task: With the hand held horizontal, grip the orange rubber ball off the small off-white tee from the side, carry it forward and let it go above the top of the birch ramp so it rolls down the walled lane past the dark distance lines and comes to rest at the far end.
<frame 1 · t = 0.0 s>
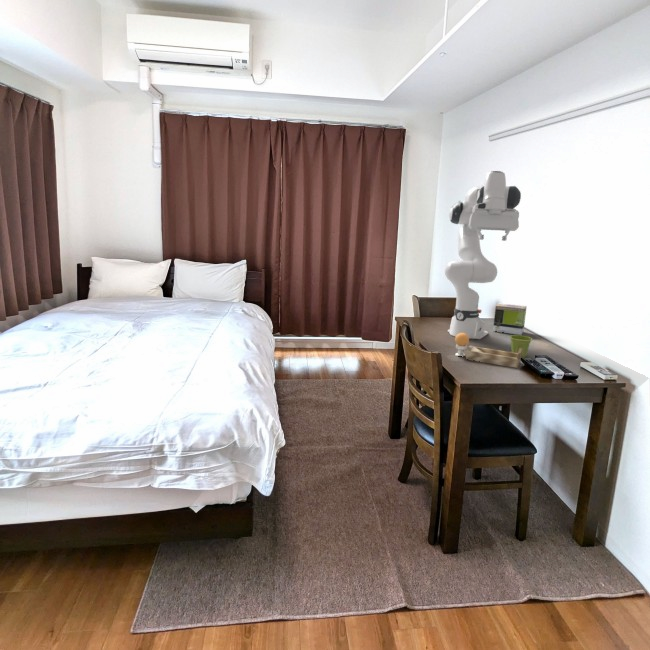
hand: (492, 239, 204), 52 cm above the table, tool tilted 20°, fingers open, 8 cm apart
white retro computer: (507, 332, 264), on the table
lane: (478, 358, 214), on the table
tee: (460, 355, 217), on the table
plant pot: (518, 356, 220), on the table
ball: (461, 345, 216), point 5 cm above the table, touching tee
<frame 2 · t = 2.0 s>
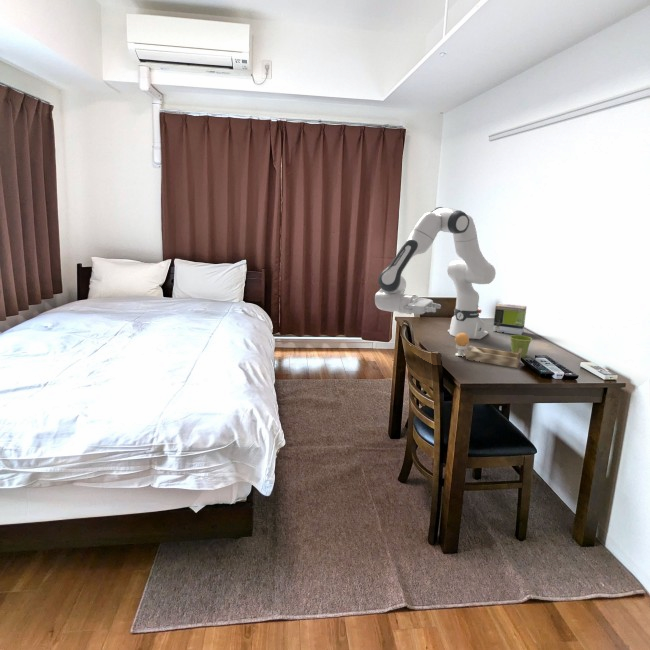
hand: (438, 308, 217), 20 cm above the table, tool horizontal, fingers open, 8 cm apart
nothing on the table moved.
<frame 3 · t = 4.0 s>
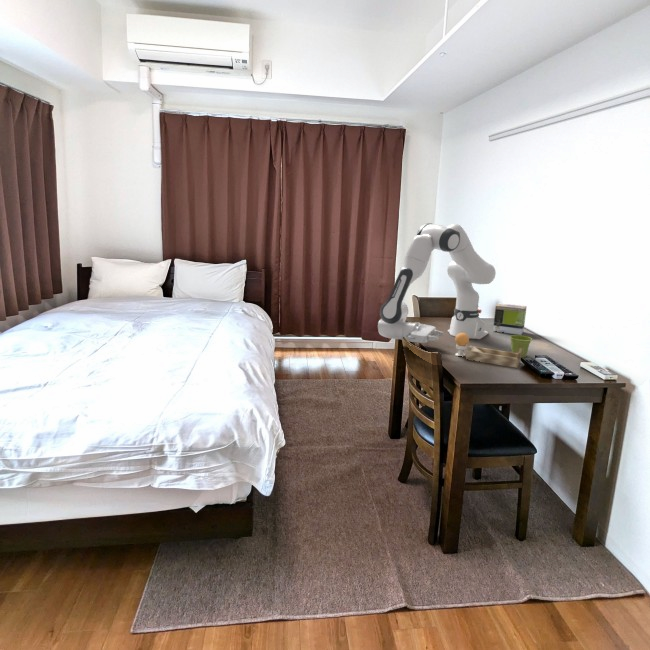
hand: (441, 336, 219), 7 cm above the table, tool horizontal, fingers open, 8 cm apart
nothing on the table moved.
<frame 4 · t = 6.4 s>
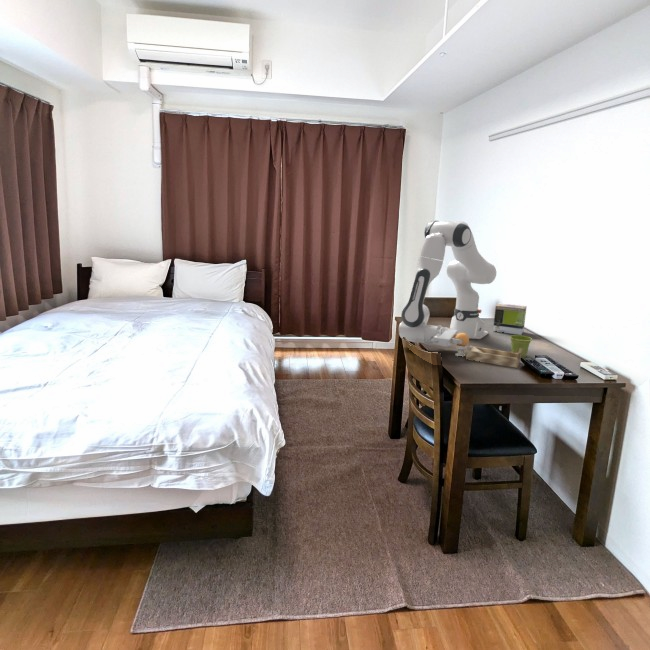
hand: (464, 339, 215), 8 cm above the table, tool horizontal, fingers closed on ball, 6 cm apart
ball: (461, 345, 216), point 5 cm above the table, touching gripper, tee
everything else where it was.
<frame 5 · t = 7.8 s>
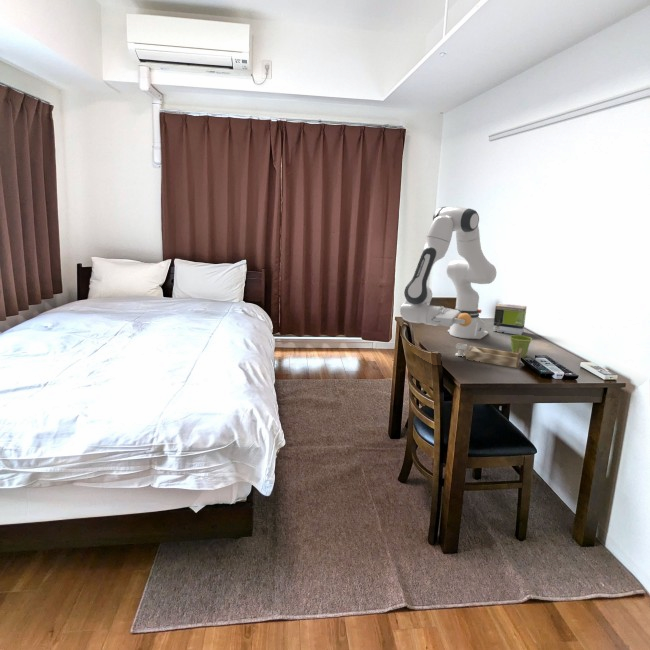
hand: (466, 320, 213), 17 cm above the table, tool horizontal, fingers closed on ball, 6 cm apart
ball: (463, 326, 214), point 14 cm above the table, touching gripper
everything else where it was.
when the fingers open (10 cm above the table, at t = 9.5 s): ball drops 5 cm and tips over, resting on lane.
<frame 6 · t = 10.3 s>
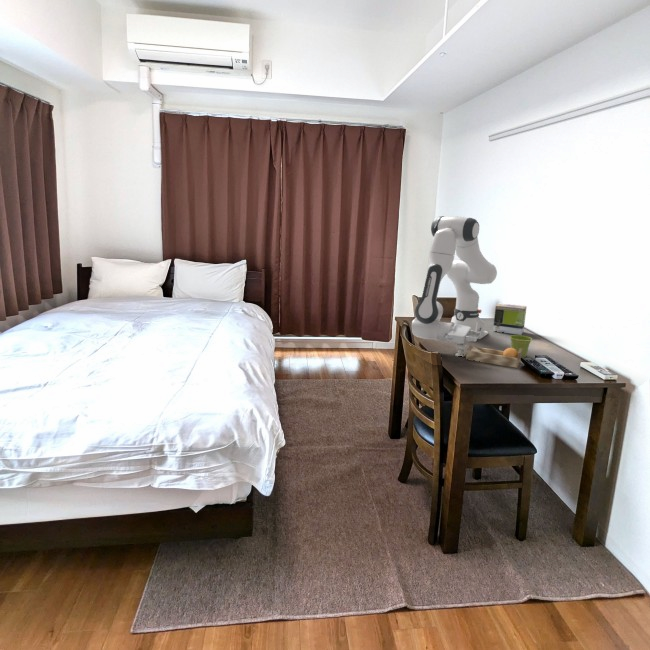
hand: (478, 336, 212), 10 cm above the table, tool horizontal, fingers open, 8 cm apart
ball: (514, 360, 207), point 2 cm above the table, tilted 40°, touching lane
everything else where it was.
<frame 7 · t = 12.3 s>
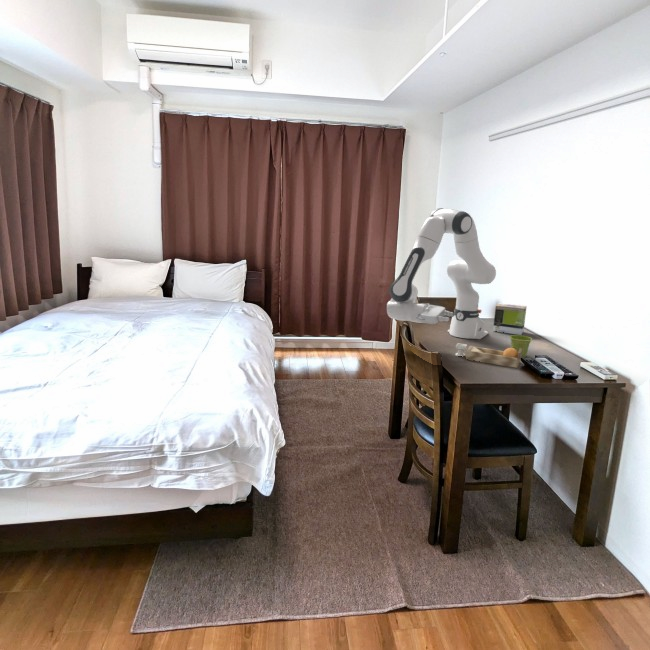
hand: (451, 316, 216), 17 cm above the table, tool horizontal, fingers open, 8 cm apart
nothing on the table moved.
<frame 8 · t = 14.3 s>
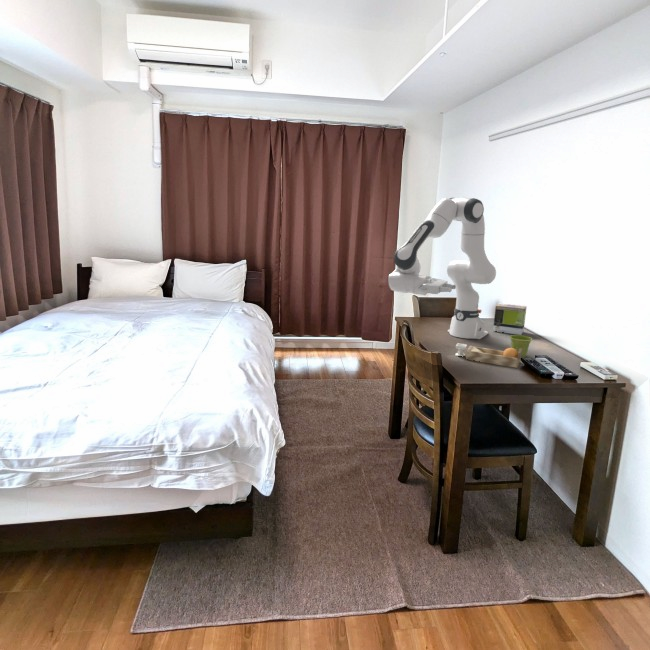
hand: (453, 288, 212), 30 cm above the table, tool horizontal, fingers open, 8 cm apart
nothing on the table moved.
at the end: ball inside the target area on the lane (3.2 cm from its centre), point 1.7 cm above the lane's base; ball moved 23.1 cm from its start; the gripper is holding nothing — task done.
